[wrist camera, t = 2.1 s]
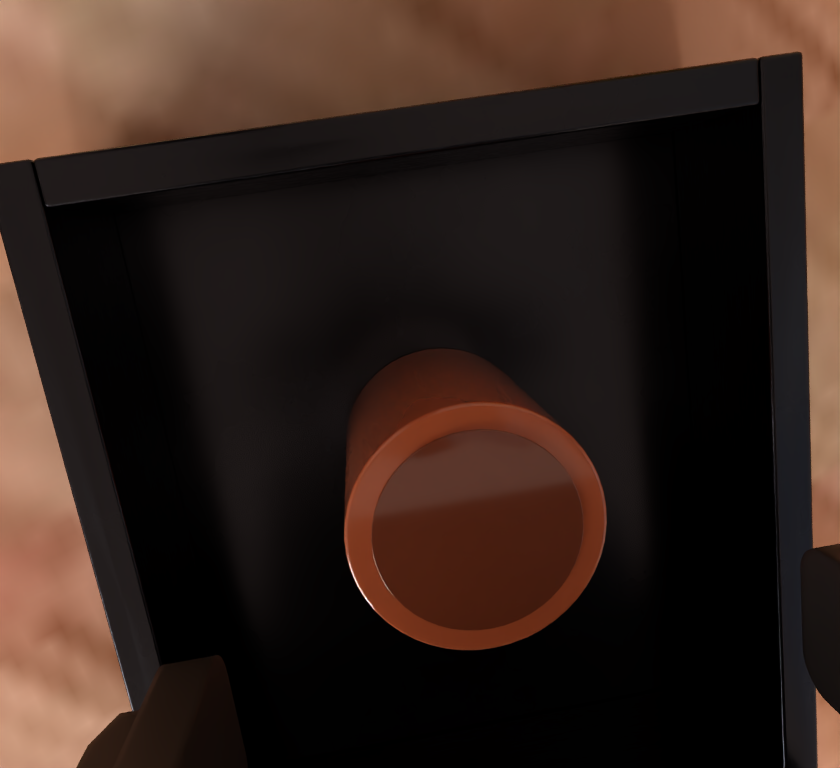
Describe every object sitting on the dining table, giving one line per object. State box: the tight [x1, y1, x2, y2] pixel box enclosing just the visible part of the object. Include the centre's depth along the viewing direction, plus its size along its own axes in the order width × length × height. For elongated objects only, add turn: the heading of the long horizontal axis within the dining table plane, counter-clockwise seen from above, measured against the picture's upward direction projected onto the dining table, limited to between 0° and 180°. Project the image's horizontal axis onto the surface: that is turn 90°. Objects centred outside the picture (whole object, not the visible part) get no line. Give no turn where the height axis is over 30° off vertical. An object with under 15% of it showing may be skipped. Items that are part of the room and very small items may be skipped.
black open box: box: [0, 52, 818, 768], centre depth 18 cm, size 18×16×5 cm
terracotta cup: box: [344, 348, 607, 650], centre depth 16 cm, size 5×5×6 cm
